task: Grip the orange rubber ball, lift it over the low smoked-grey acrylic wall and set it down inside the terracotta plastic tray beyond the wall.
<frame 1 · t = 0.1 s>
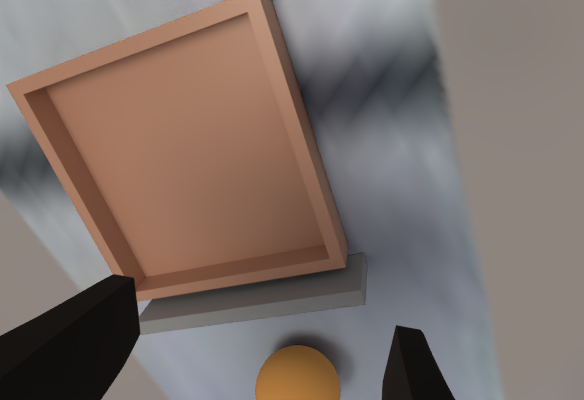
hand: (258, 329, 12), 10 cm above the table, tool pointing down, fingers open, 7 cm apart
acrylic wall: (256, 277, 24), on the table
ball: (297, 389, 23), point 2 cm above the table
tray: (194, 163, 21), on the table
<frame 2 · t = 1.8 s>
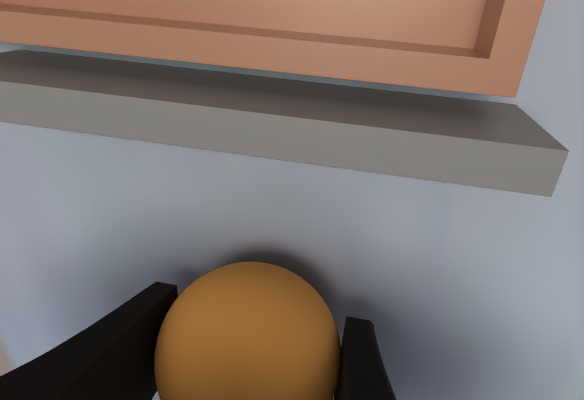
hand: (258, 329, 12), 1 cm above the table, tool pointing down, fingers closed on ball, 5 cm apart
acrylic wall: (247, 92, 10), on the table
ball: (249, 353, 11), point 2 cm above the table, touching gripper
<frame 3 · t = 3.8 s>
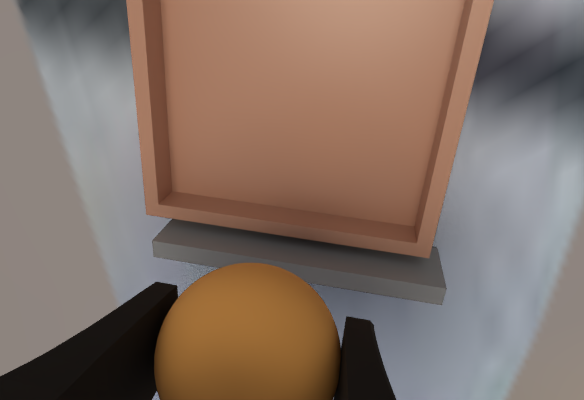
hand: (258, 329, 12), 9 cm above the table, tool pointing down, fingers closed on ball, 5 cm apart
acrylic wall: (303, 234, 20), on the table
ball: (249, 354, 11), point 9 cm above the table, touching gripper
tray: (299, 81, 17), on the table
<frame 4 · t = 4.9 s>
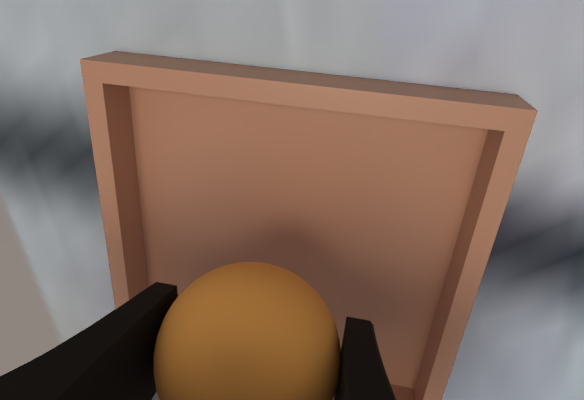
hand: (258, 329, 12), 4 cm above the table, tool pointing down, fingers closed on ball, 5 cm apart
ball: (249, 354, 11), point 5 cm above the table, touching gripper
tray: (289, 243, 16), on the table
when the fingers open (2 cm above the table, at t = 5.8 s): ball stays where it is, resting on tray.
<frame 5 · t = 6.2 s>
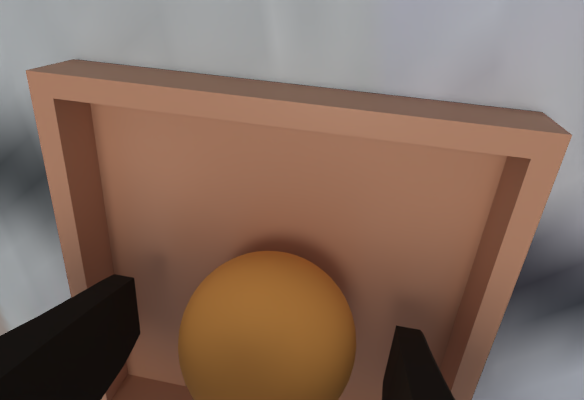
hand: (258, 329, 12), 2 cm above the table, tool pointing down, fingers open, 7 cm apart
ball: (268, 338, 11), point 3 cm above the table, tilted 9°, touching tray
tray: (277, 276, 14), on the table
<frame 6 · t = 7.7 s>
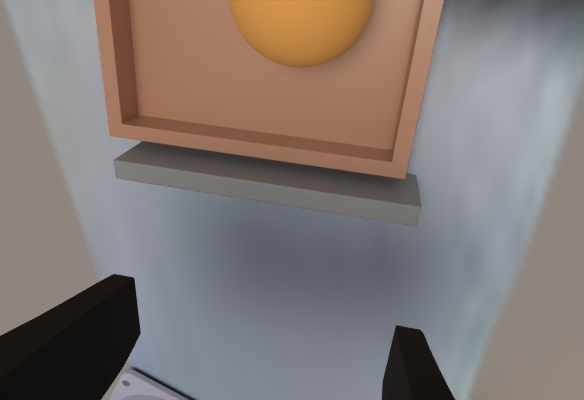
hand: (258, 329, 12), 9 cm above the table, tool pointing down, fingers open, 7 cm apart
acrylic wall: (276, 163, 19), on the table
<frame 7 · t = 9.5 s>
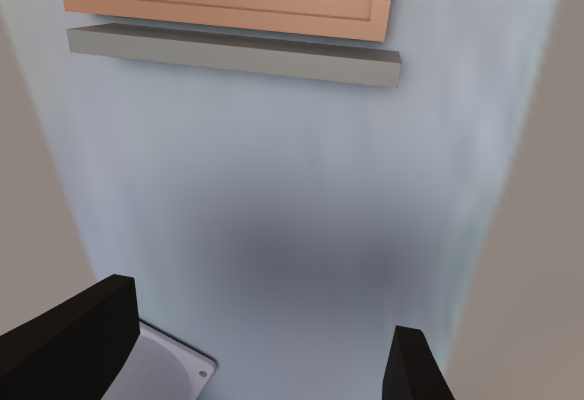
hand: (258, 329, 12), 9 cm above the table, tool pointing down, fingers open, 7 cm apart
acrylic wall: (248, 47, 18), on the table
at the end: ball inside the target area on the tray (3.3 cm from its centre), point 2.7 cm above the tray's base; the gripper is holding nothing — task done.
